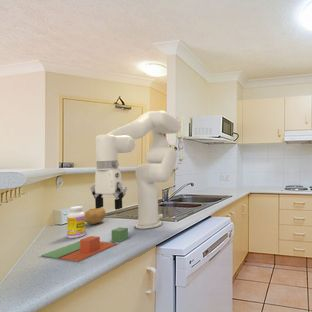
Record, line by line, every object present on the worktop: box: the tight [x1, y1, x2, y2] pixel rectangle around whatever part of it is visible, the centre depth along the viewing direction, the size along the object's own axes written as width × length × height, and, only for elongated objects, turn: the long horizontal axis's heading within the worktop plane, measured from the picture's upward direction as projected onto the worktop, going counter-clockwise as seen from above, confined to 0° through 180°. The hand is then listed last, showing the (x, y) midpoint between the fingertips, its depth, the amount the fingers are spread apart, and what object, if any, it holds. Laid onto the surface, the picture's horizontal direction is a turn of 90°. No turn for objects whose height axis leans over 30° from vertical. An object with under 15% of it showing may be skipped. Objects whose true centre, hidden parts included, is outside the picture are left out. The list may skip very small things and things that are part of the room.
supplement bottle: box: [66, 205, 86, 239], centre depth 103 cm, size 7×7×13 cm
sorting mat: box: [41, 240, 117, 263], centre depth 87 cm, size 16×17×1 cm
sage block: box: [111, 226, 129, 243], centre depth 97 cm, size 4×4×4 cm
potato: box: [84, 207, 107, 225], centre depth 123 cm, size 10×14×8 cm
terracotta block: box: [79, 235, 101, 253], centre depth 85 cm, size 4×4×4 cm
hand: (108, 208), depth 93 cm, fingers open, 9 cm apart
